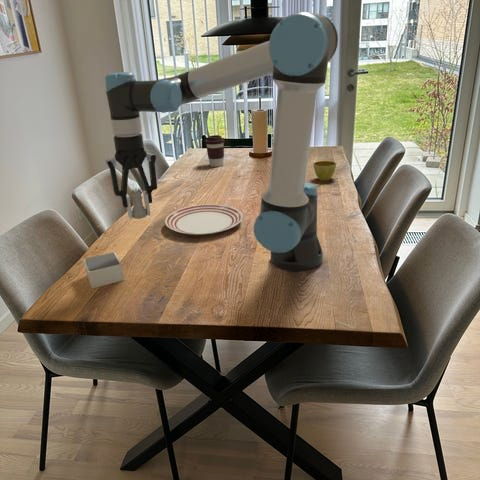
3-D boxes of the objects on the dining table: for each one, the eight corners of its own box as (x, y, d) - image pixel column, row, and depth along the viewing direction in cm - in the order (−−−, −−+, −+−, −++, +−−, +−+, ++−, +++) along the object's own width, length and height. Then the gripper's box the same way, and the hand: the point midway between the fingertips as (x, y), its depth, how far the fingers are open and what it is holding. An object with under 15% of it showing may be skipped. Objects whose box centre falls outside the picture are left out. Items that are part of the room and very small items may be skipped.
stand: (124, 280, 129) (121, 263, 127) (91, 288, 126) (88, 271, 124) (118, 267, 137) (114, 251, 135) (86, 275, 134) (83, 258, 132)
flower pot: (333, 175, 211) (333, 159, 208) (338, 181, 202) (338, 165, 199) (311, 176, 211) (311, 161, 208) (315, 183, 202) (315, 167, 199)
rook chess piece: (141, 212, 135) (137, 186, 132) (150, 215, 133) (147, 189, 129) (128, 217, 132) (124, 190, 129) (138, 220, 130) (134, 193, 126)
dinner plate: (258, 223, 163) (258, 214, 162) (198, 248, 147) (197, 238, 145) (209, 206, 182) (209, 199, 181) (151, 227, 166) (149, 219, 164)
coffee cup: (225, 167, 236) (223, 137, 230) (206, 168, 236) (203, 138, 230) (226, 162, 245) (224, 133, 239) (208, 163, 245) (205, 135, 239)
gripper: (156, 128, 129) (165, 206, 139) (92, 135, 123) (106, 217, 133) (163, 132, 123) (172, 214, 132) (96, 140, 117) (110, 225, 126)
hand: (139, 215), depth 132 cm, fingers closed on rook chess piece, 4 cm apart
